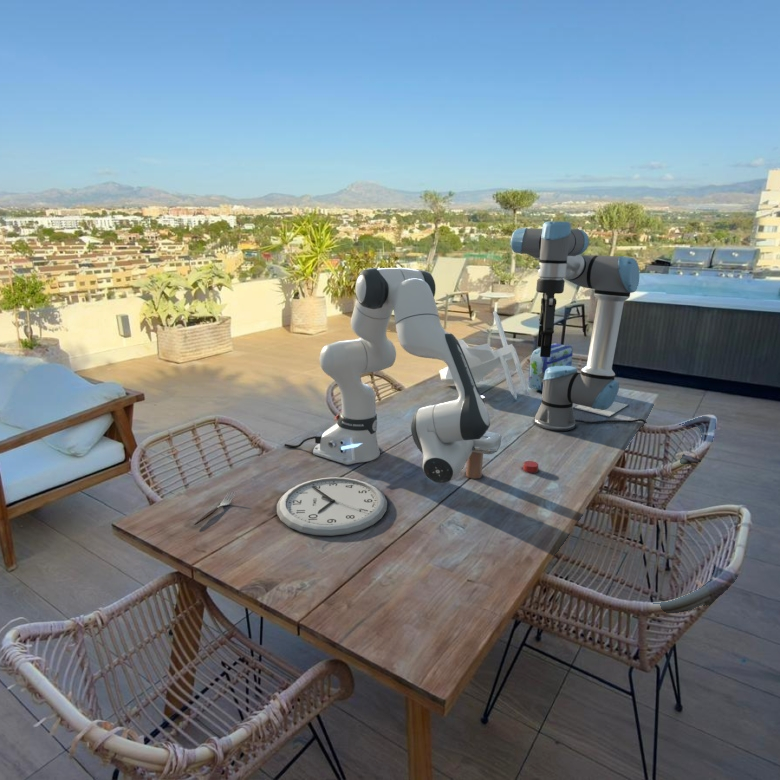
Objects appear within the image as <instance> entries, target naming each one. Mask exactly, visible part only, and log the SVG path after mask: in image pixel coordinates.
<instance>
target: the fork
mask: <svg viewBox="0 0 780 780" xmlns="http://www.w3.org/2000/svg"><path fill="white" fill-rule="evenodd" d="M236 494H237V491H233V492H232V490H230V491H228V492H227V494H226V496H225V497H224V498H223V500H222V501H221V502H220V504H219V505H217V506H216V507H215V508H213V509H211V510H209V511H208V512H207V513H205V514H204V515H203V516H202V517H200V519H198V520H197V521H196V522H195V523H194V524H193V525H194V526H196V525H199V524H200V523H201V522H202V521H204V520H206V519H207V518H209V517H210V516H212V515H213V514H214V513H216V511H218V509H219V508H220V507H226V506H229V505H230V504H231V503H232V501H233V500H234V497H235V496H236Z"/></svg>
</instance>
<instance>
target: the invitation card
mask: <svg viewBox="0 0 780 780" xmlns="http://www.w3.org/2000/svg"><path fill="white" fill-rule="evenodd" d="M628 406H629V404H627V403H623V402H618V401H614V402H613V404H612V405H611V406H610V407H609V408H608V409H606V410H600V409H593V408H591V407H587V406H583V405H579V404H577V405H575V406H574V407H573V409H575V410H581V411H584V412H587V413H593V414H596V415H600V416H604V417H608V418H609V417H611V416H613V415H614V414H616V413H617V412H619V411H621V410H623V409H624V408H626V407H628Z"/></svg>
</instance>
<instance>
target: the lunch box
mask: <svg viewBox="0 0 780 780" xmlns="http://www.w3.org/2000/svg"><path fill="white" fill-rule="evenodd" d="M540 351H541V347H537V348H536V349H534V350H533V351H532V353H531V355H530V359H529V370H528V371H529V372H528V389H531V390H536V391H541V392H542V391H543V381H544V380H543V379H544V375H545V371H546V369H548V368H550V367H554V366H572V365H573V363H572V362H573V356H574V355H573V347H572V346H571V345H566V344H560V343H552V344H551V353H550V357H540Z"/></svg>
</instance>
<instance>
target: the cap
mask: <svg viewBox="0 0 780 780" xmlns="http://www.w3.org/2000/svg"><path fill="white" fill-rule="evenodd" d="M523 471H524V472H525V473H529V474H535V473H538V472H539V463H538V462H536V461H533V460H525V461H524V462H523Z"/></svg>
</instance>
